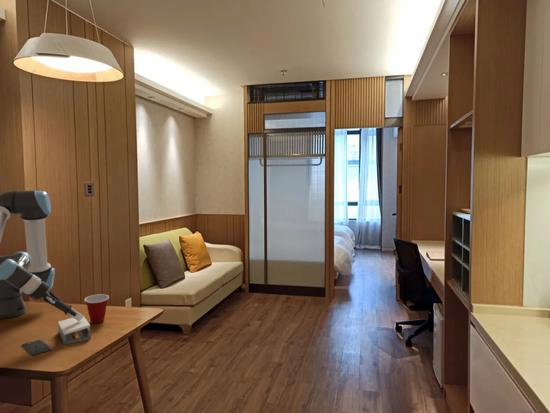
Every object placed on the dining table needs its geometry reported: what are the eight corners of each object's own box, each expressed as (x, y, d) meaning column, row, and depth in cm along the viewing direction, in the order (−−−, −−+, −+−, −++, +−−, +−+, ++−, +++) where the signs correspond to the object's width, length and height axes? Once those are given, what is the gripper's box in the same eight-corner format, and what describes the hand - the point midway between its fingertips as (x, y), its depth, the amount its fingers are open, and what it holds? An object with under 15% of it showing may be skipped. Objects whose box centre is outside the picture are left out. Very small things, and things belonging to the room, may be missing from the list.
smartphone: (31, 355, 143) (20, 344, 153) (31, 357, 143) (20, 346, 153) (53, 348, 149) (40, 338, 158) (53, 351, 149) (40, 340, 159)
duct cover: (58, 323, 166) (58, 321, 166) (83, 316, 172) (82, 314, 172) (63, 334, 154) (63, 332, 153) (90, 326, 160) (89, 324, 159)
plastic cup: (83, 327, 174) (83, 301, 173) (86, 319, 184) (85, 295, 183) (108, 324, 178) (108, 299, 177) (110, 316, 188) (109, 293, 187)
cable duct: (58, 332, 166) (58, 324, 166) (83, 327, 173) (83, 319, 172) (64, 344, 154) (63, 335, 154) (90, 338, 160) (90, 329, 160)
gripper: (26, 291, 157) (72, 321, 168) (28, 298, 147) (77, 330, 158) (40, 277, 160) (84, 307, 171) (43, 283, 150) (90, 315, 161)
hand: (81, 318), depth 164 cm, fingers closed
